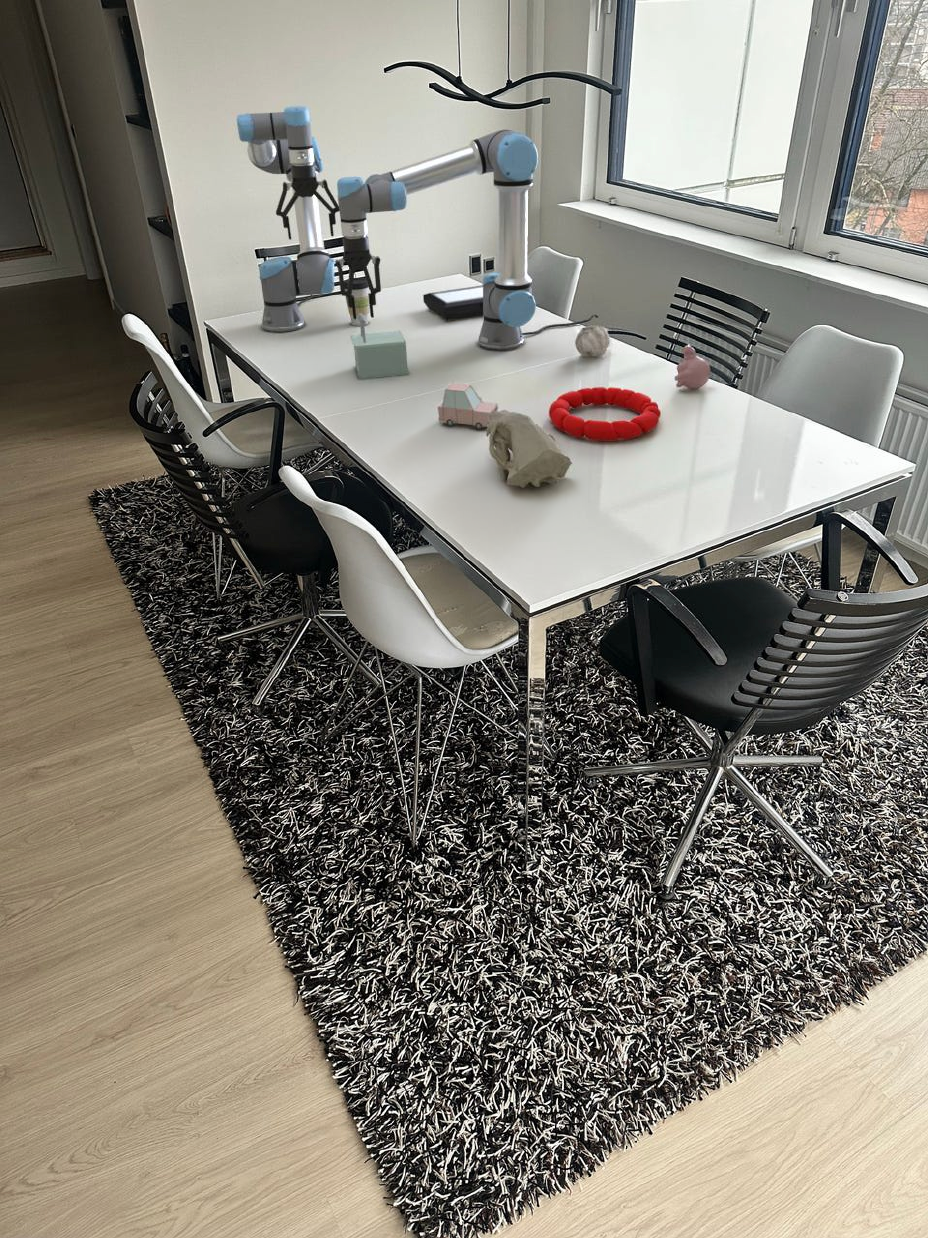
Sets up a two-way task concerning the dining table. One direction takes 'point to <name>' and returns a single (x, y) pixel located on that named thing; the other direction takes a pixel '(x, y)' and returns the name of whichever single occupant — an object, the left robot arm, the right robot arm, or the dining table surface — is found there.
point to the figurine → (692, 370)
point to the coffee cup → (359, 299)
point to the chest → (381, 361)
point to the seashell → (592, 340)
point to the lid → (376, 337)
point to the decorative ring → (604, 428)
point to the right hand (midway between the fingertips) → (363, 316)
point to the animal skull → (525, 450)
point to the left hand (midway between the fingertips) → (311, 237)
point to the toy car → (465, 406)
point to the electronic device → (456, 303)
